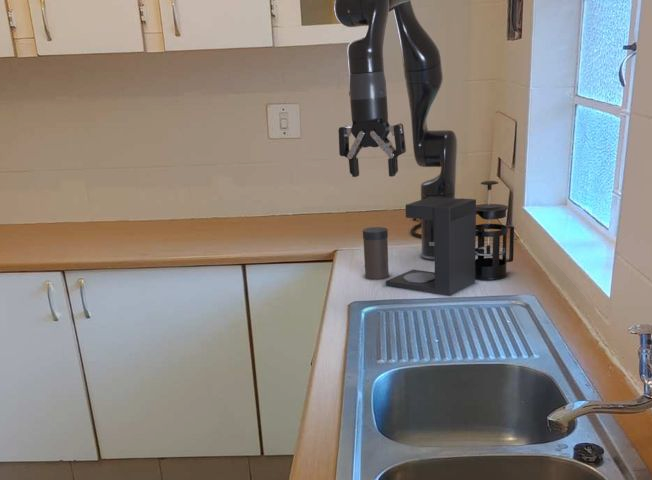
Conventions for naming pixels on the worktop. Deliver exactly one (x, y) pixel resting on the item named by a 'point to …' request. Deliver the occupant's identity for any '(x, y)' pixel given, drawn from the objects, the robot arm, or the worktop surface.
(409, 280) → the coffee maker
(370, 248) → the brown travel mug
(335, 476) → the worktop surface
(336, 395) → the worktop surface
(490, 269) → the french press
